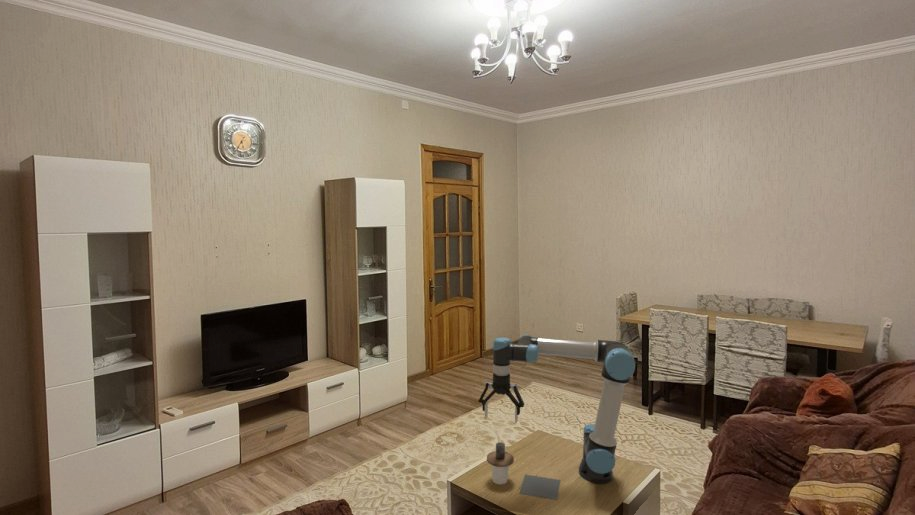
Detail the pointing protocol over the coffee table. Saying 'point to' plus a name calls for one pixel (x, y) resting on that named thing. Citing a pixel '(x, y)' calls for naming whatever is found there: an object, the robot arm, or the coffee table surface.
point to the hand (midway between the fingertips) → (501, 419)
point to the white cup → (500, 474)
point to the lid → (500, 456)
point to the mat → (540, 487)
